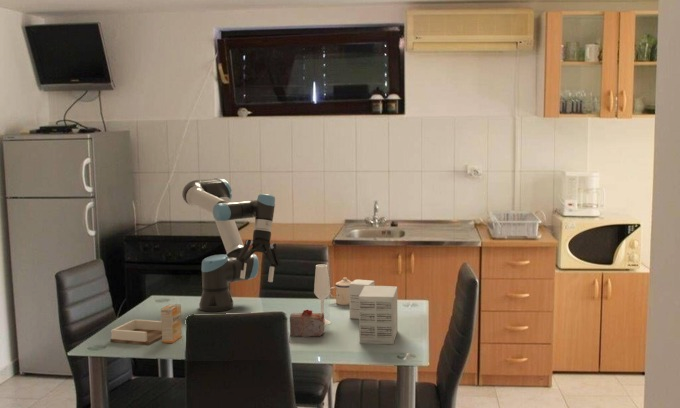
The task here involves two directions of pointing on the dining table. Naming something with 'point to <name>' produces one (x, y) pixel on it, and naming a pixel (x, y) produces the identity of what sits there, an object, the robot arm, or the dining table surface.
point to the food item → (306, 324)
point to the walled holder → (138, 332)
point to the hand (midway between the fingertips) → (256, 280)
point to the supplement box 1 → (171, 323)
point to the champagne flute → (322, 286)
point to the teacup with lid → (342, 291)
